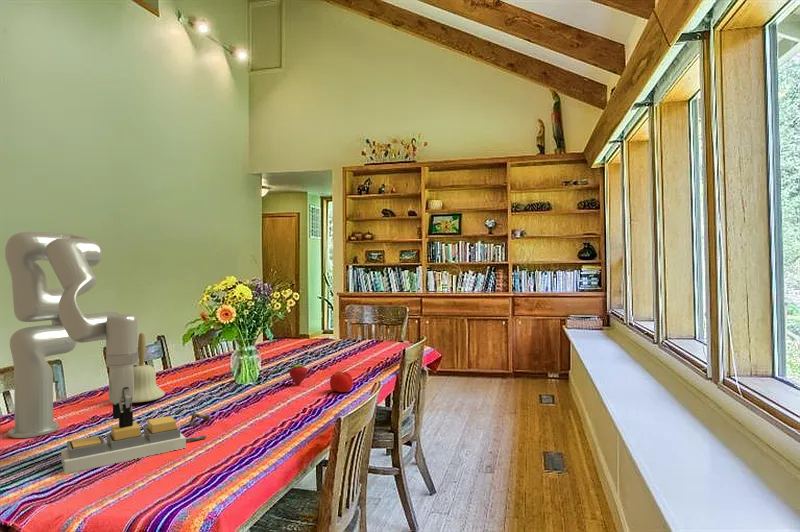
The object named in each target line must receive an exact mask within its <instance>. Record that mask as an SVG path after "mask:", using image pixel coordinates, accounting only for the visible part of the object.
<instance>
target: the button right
mask: <svg viewBox="0 0 800 532" xmlns="http://www.w3.org/2000/svg"><path fill="white" fill-rule="evenodd" d="M176 426H177V420H176V419H175V418H173V416H172V415H168V416H162V417H155V418H150V419H147V427H148V429H149V430H150V431H151V432H152V433H158V432H163V431H169V430H174V429H176Z"/></svg>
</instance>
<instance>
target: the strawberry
mask: <svg viewBox="0 0 800 532" xmlns="http://www.w3.org/2000/svg"><path fill="white" fill-rule="evenodd" d="M296 363H297V364H294V365H293V364H292V365H291V366H292V367H291V368H290V369H289V371H288V373H289V377H290V378H291V379H292V381H293V382H294V383H295V384H296V385H297V386H299V385H301V384H302V383H303V381H304V380H305V378H306V377H307V375H308V369H307V367H304V366H305V364H298V361H297V362H296Z"/></svg>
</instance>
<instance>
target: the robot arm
mask: <svg viewBox="0 0 800 532" xmlns="http://www.w3.org/2000/svg"><path fill="white" fill-rule="evenodd" d="M4 256H5V261H6V264H7V267H8V270H9V274H10V277H11V287H12V301H13V304H12V305H13V310H14V311H13V313H14V316H15V318H16V320H18V321H20V322H23V323H36V322H44V321H45V322H46V321H51V324H46V325H45V324H44V325H35V326H34V325H33V326H28V327H24V328H20V329H18V330H15V332H13V334H12V335H11V337H10V339H9V348H10V349H9V350H10V352H11V353H10V354H11V358H12V362H13V363H12V364H13V377H14V378H13V380H14V381H13V382H14V385H13V386H14V387H13V388H14V389H13V392H14V395H13V396H14V397H13V398H14V405H13V406H14V413H13V414H14V427H12V428H10V429H9V430H8V432H7V436H8V437H9V438H14V439H27V438H29V439H30V438H36V437H40V436H46V435H48V434H51V433H54V432H56V431H58V430H59V429H60V423H59V422H57V421H54V371H53V368H52V367H51V364H49V363H48V361H47V359H46V358H47V357H51V356H57V355H62V354H67V353H70V352H71V351H73V350H74V349H75V348H76V346H77V343H79V344H82V343H92V342H97V341H105V345H106V346H105V353H106V355H105V356H106V358H105V359H106V360H105V361H106V362H105V363H106V364H105V366H106V368H109V372H108V373H109V376H108V400H109V401H110V402H111V404H112V418H113V420H116V419H117V420H118V425H119V427H120V428H123V427H129V426H132V425H133V422H134V417H133V416H134V414H133V413H134V411H133V404H132V403H131V402H132V401H133V400H134V371H133V367H135V366H138V365H139V364H138V362H139V361H138V319H137V316H136V315H135V314H131V313H119V312H113V311H109V312H108V311H106V312H95V313H85V314H83V313H82V311H81V309H80V307H79V306H78V305H79V304H78V303H77V298H79V297H81V296H82V295H84V294H86V293H87V292H89V291H90V290H92V289H93V288H94V287H95V286H96V284H97V282H98V281H97V276H96V275H95V274H94V271H93V270H92V267H95V266H97V265H99V263H100V262H101V260H102V258H103V251H102V248H101V246H100V244H99V243H98V242H96V241H95V240H94V239H91V238H87V237H83V236H80V235H79V236H78V235H75V234H71V233H64V232H63V233H60V232H47V231H46V232H45V231H42V232H41V231H22V232H18V233H14V234H13V235H11V236H10V237H9V238H8V240H7V241H6V244H5V249H4ZM37 261H47V262H49V264H50V266H51V268H52V269H53V272H54V273H55V275H56V277H57V279H58V281H59V284H60V285H61V287H62V289H61V288H58V289H57V288H56V289H49V288H48V286H47V285H48V284H47V275H46V273H45V271H44V270H43V268H42V267H41V266H40V265H39V264H38V263H37Z"/></svg>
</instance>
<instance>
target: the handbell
mask: <svg viewBox="0 0 800 532" xmlns="http://www.w3.org/2000/svg"><path fill="white" fill-rule="evenodd" d="M146 351H147V347H146V336H145V333H143V332H140V333H139V335H138V339H137V357H138V362H139V364H137V365H134V366H133V371H134V400H133V401H132V402H131V403H144V402H151V401H155V400H159V399H161V398H162V397H164V396H165V393H166V392H165V391H164V389H161V387H159V386H158V385H157V382H156V377H157V375H156V374H157V373H156V372H157V371H156V369H155V368H154V367H153V366H151V365H149V364H146V363H145V359H146Z"/></svg>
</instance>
